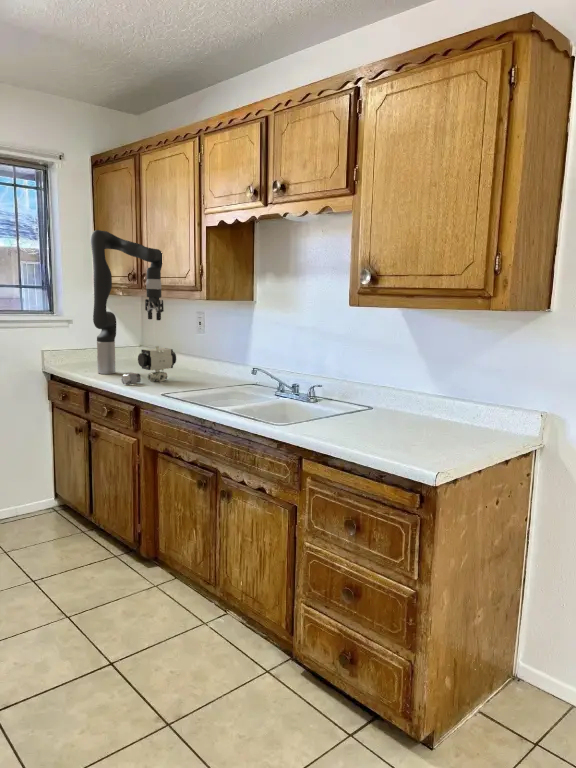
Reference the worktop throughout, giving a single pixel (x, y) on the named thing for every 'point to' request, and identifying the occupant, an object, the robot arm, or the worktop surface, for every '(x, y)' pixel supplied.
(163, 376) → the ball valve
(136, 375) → the coupling
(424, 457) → the worktop surface
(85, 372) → the worktop surface
